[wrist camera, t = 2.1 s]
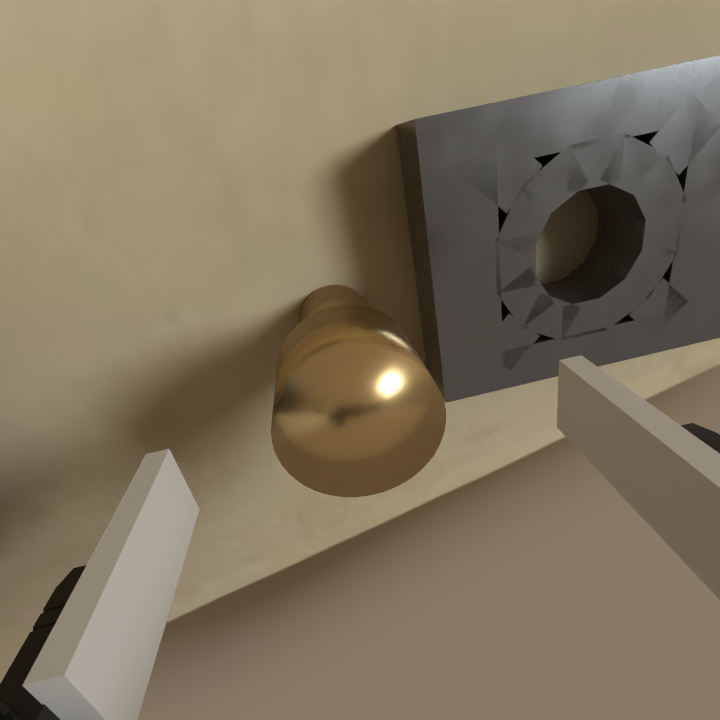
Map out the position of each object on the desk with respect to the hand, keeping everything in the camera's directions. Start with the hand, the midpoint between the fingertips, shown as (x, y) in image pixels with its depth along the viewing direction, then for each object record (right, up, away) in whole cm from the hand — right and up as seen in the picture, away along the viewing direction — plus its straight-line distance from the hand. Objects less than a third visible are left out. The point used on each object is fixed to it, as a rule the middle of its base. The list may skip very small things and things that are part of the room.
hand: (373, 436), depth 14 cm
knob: (-2, +5, +10) cm, 11 cm away
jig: (+12, +10, +10) cm, 19 cm away
